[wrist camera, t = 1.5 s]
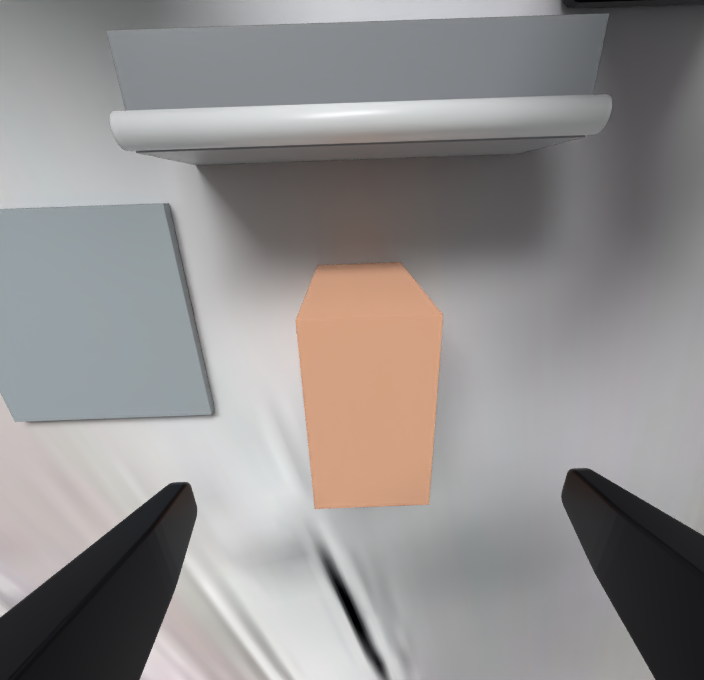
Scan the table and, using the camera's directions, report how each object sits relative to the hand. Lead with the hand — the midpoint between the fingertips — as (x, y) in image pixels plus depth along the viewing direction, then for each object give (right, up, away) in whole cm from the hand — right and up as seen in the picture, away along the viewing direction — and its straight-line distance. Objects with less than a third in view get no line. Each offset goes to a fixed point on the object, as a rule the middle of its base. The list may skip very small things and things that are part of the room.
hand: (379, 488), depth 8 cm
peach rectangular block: (0, +4, +10) cm, 11 cm away
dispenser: (0, +13, +6) cm, 14 cm away
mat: (-14, +4, +9) cm, 18 cm away
